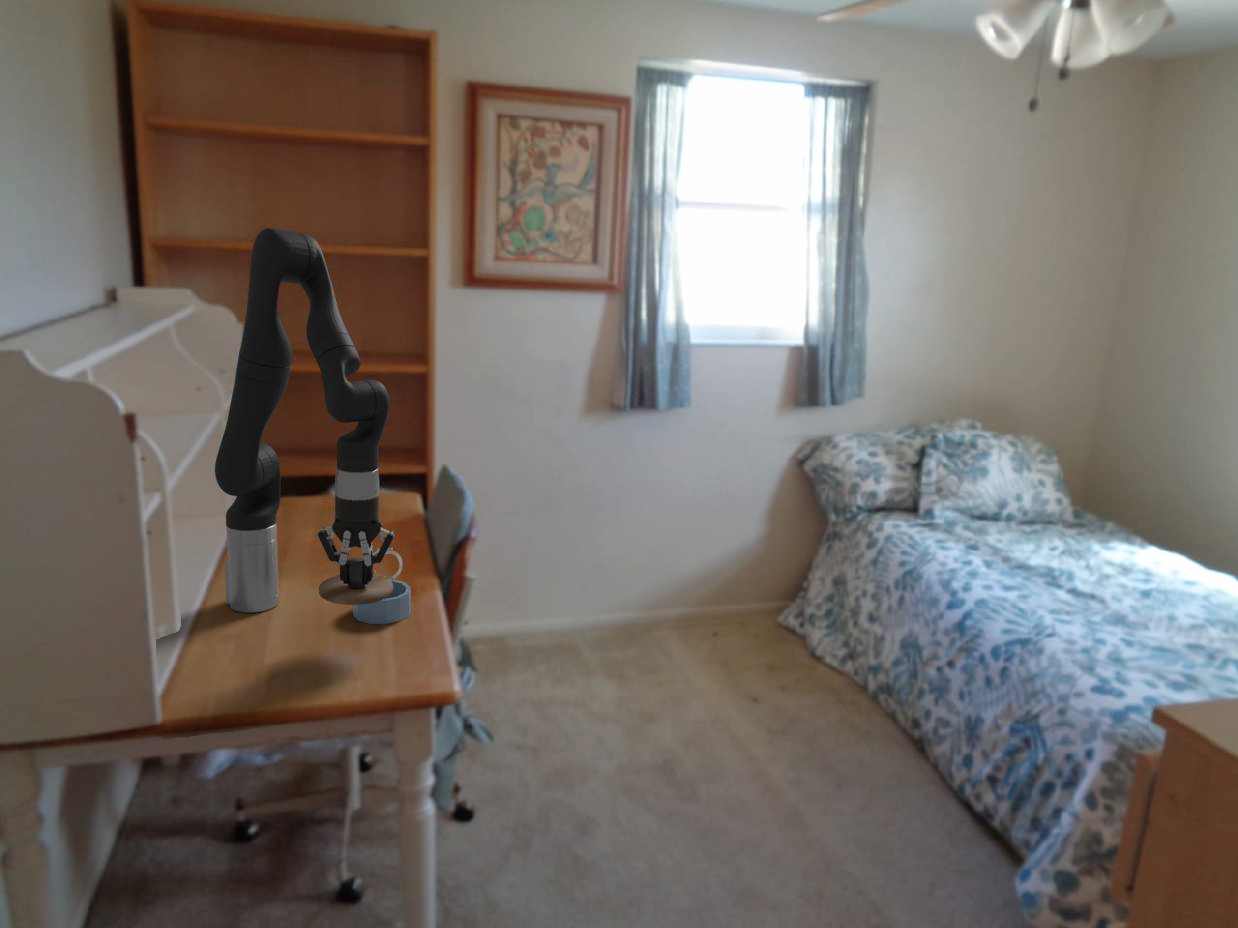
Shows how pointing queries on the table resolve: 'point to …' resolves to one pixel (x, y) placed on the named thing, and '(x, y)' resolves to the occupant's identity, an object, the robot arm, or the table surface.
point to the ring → (390, 551)
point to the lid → (355, 586)
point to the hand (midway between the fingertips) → (356, 582)
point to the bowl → (386, 606)
